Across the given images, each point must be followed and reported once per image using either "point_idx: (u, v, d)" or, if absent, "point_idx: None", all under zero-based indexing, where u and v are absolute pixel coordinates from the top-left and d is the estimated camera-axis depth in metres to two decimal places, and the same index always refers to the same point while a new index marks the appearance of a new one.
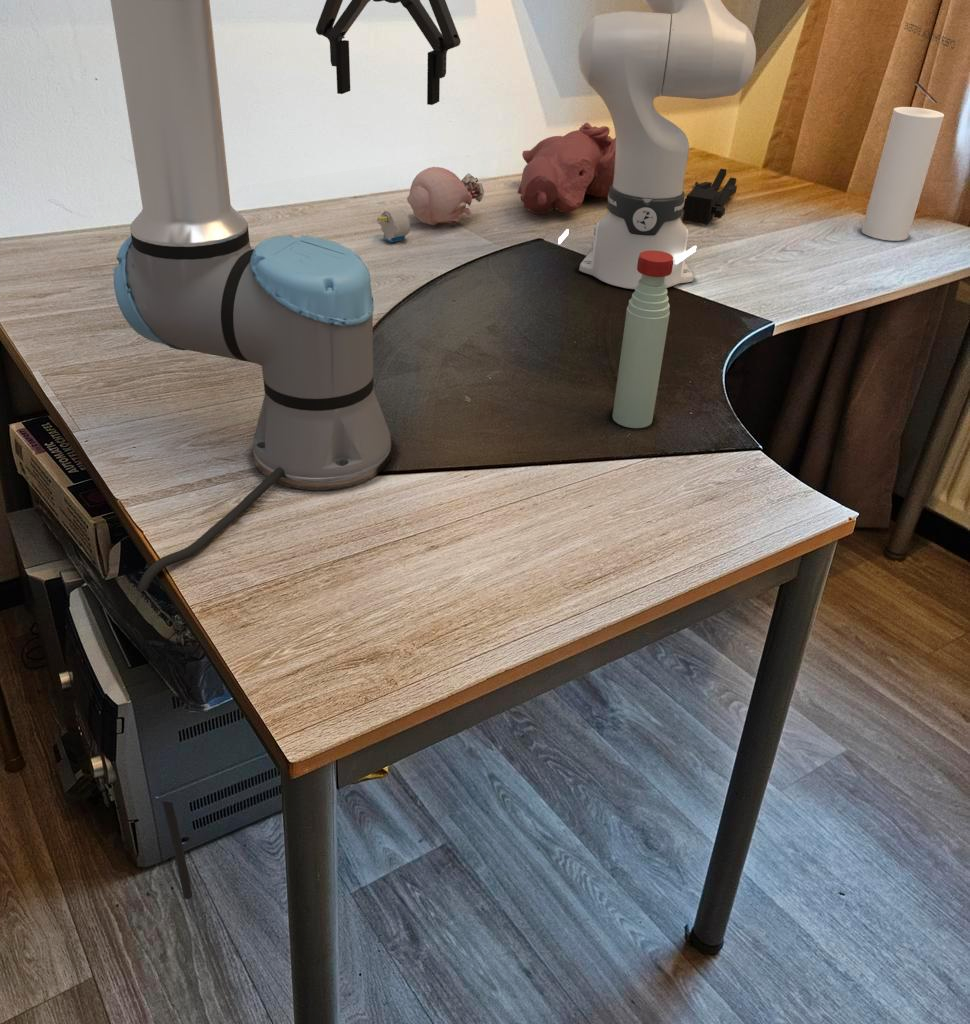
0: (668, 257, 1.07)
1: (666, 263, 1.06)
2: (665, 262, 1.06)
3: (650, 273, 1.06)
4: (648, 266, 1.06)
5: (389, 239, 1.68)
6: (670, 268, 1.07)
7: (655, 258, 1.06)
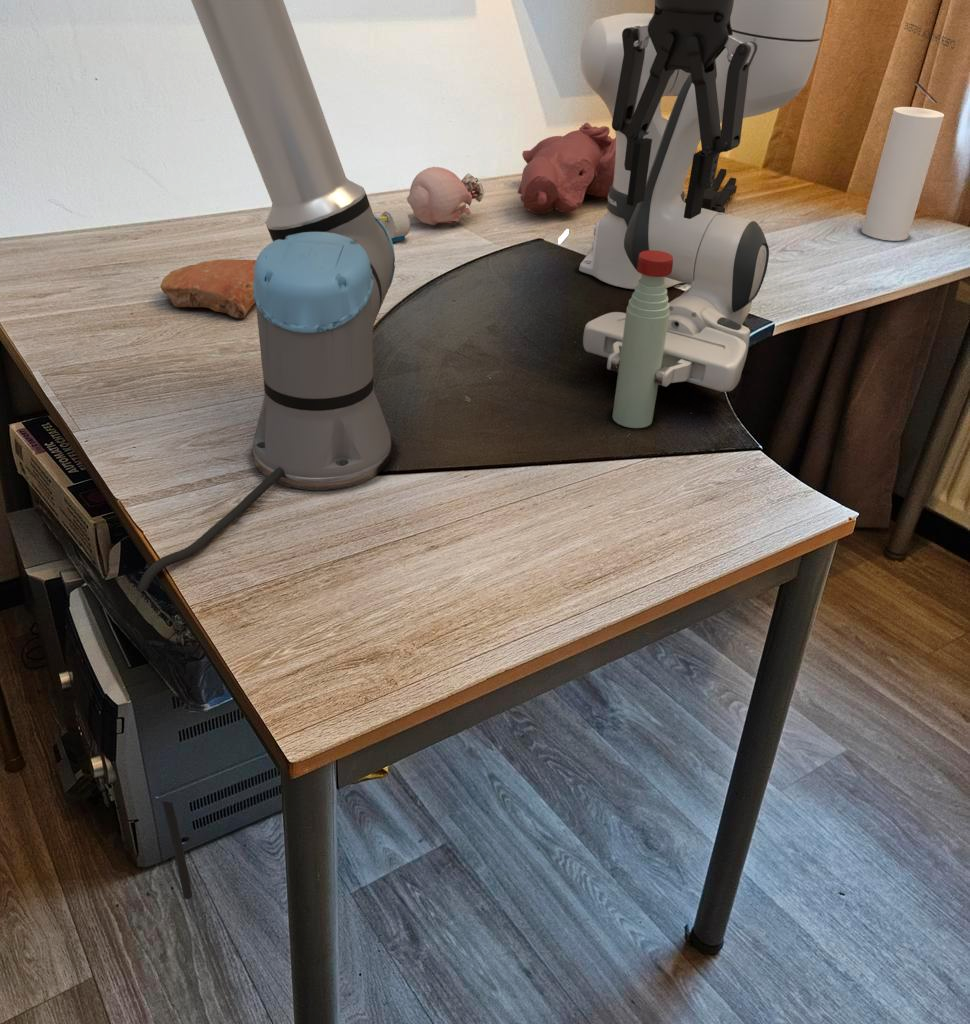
0: (668, 257, 1.07)
1: (666, 263, 1.06)
2: (665, 262, 1.06)
3: (650, 273, 1.06)
4: (648, 266, 1.06)
5: None
6: (670, 268, 1.07)
7: (655, 258, 1.06)
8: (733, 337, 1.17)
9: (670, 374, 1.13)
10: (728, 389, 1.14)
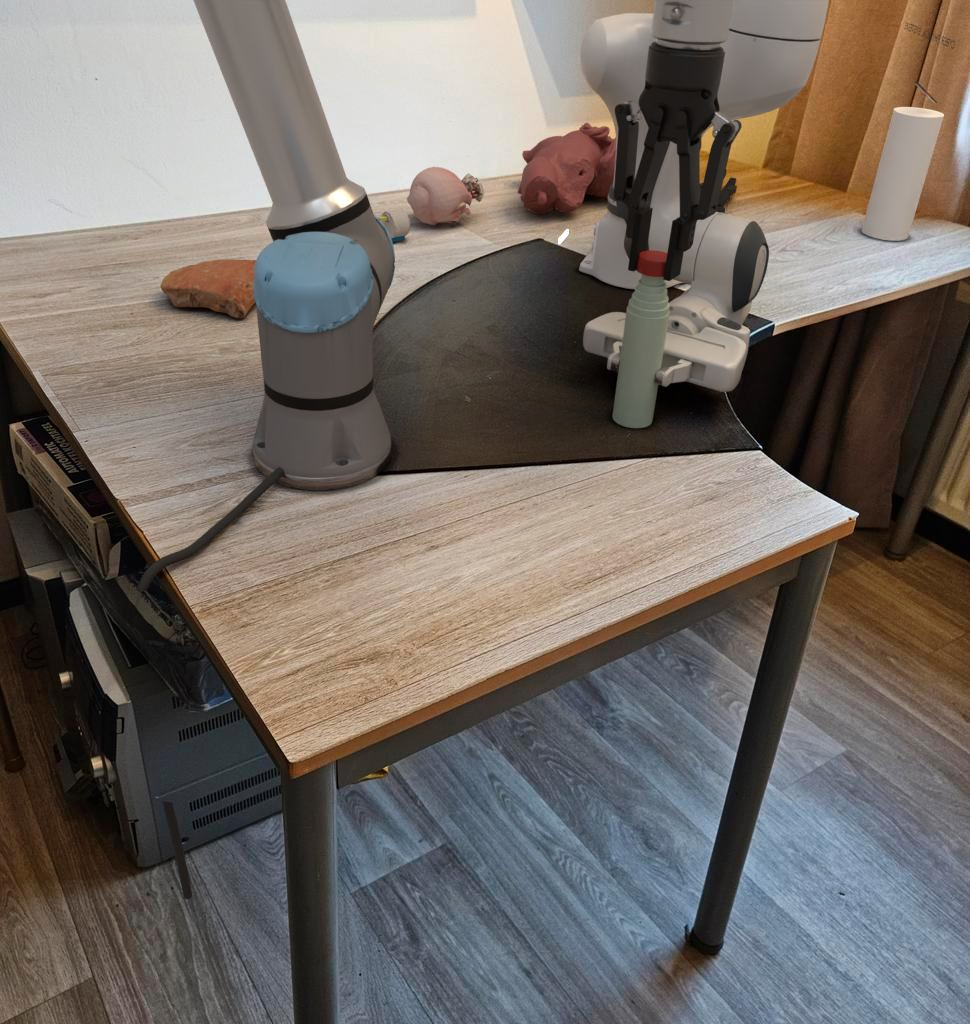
0: None
1: None
2: (665, 262, 1.06)
3: (650, 273, 1.06)
4: (648, 266, 1.06)
5: None
6: None
7: (655, 258, 1.06)
8: (733, 337, 1.17)
9: (670, 374, 1.13)
10: (728, 389, 1.14)
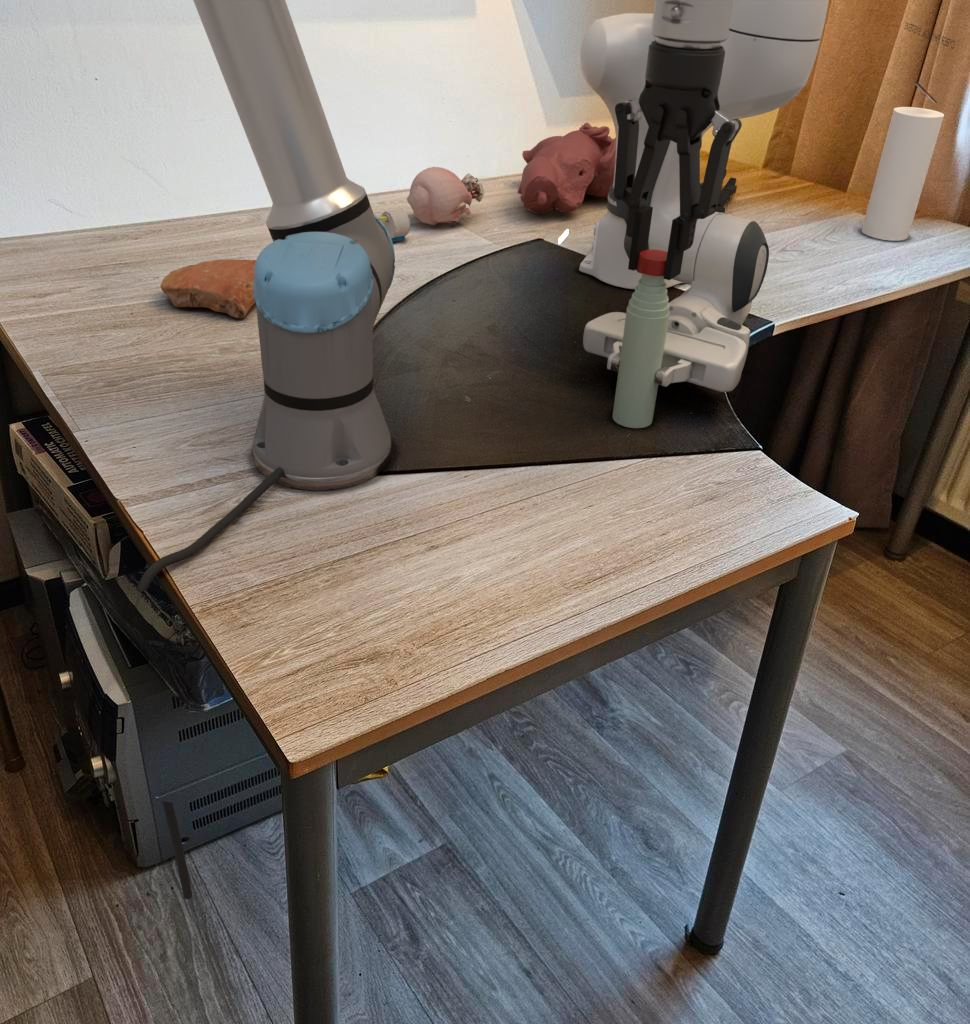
0: (655, 251, 1.08)
1: None
2: None
3: None
4: None
5: None
6: None
7: (664, 255, 1.07)
8: (733, 337, 1.17)
9: (670, 374, 1.13)
10: (728, 389, 1.14)
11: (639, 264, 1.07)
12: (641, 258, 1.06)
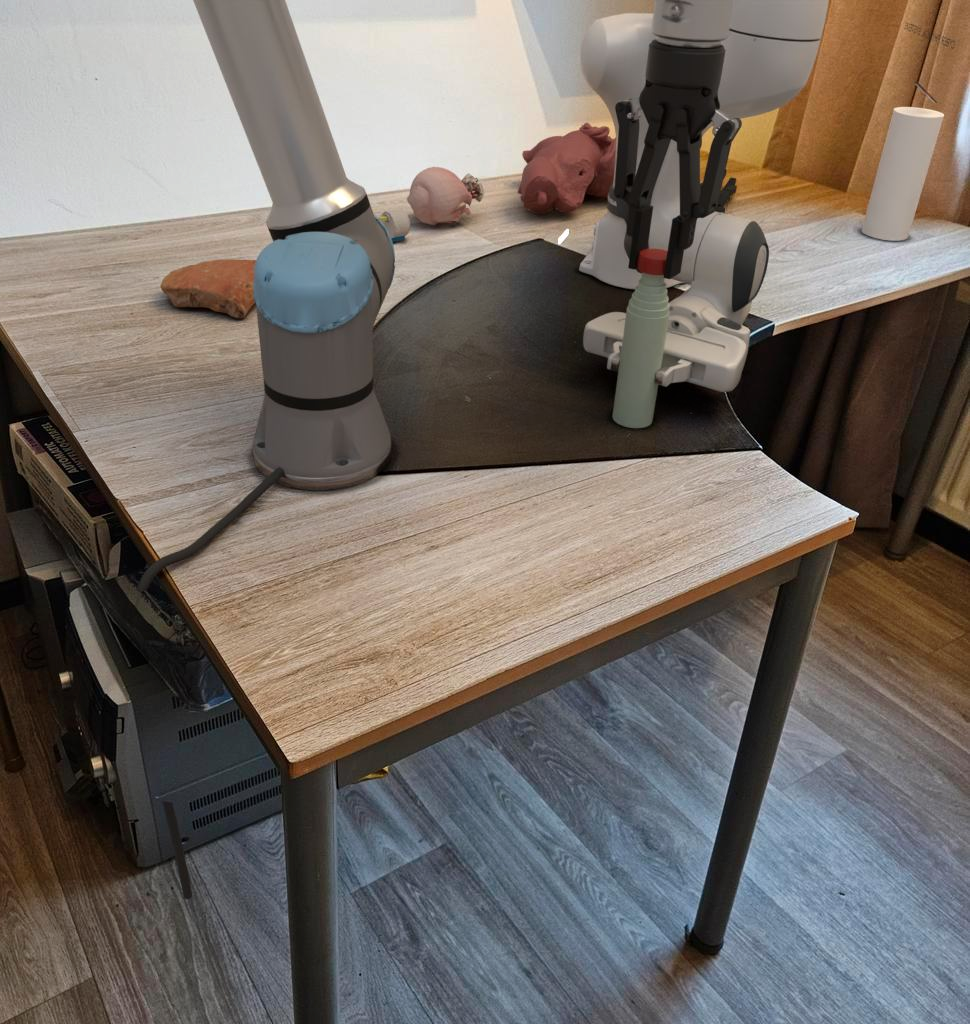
0: (645, 254, 1.07)
1: None
2: (642, 250, 1.08)
3: None
4: None
5: None
6: (638, 260, 1.08)
7: (654, 251, 1.07)
8: (733, 337, 1.17)
9: (670, 374, 1.13)
10: (728, 389, 1.14)
11: None
12: None
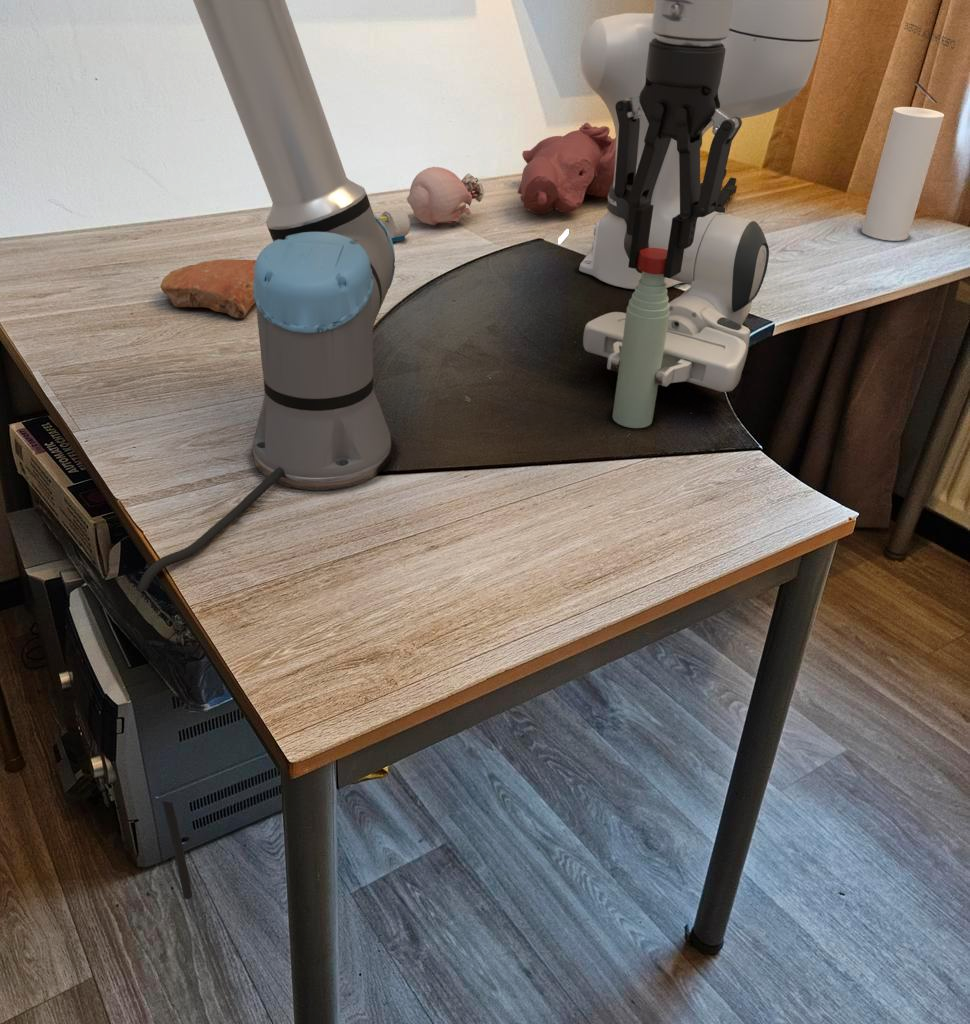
0: (662, 257, 1.06)
1: (651, 260, 1.05)
2: (649, 258, 1.05)
3: (638, 265, 1.07)
4: (639, 258, 1.07)
5: None
6: (657, 267, 1.06)
7: (650, 253, 1.06)
8: (733, 337, 1.17)
9: (670, 374, 1.13)
10: (728, 389, 1.14)
11: None
12: (666, 251, 1.08)
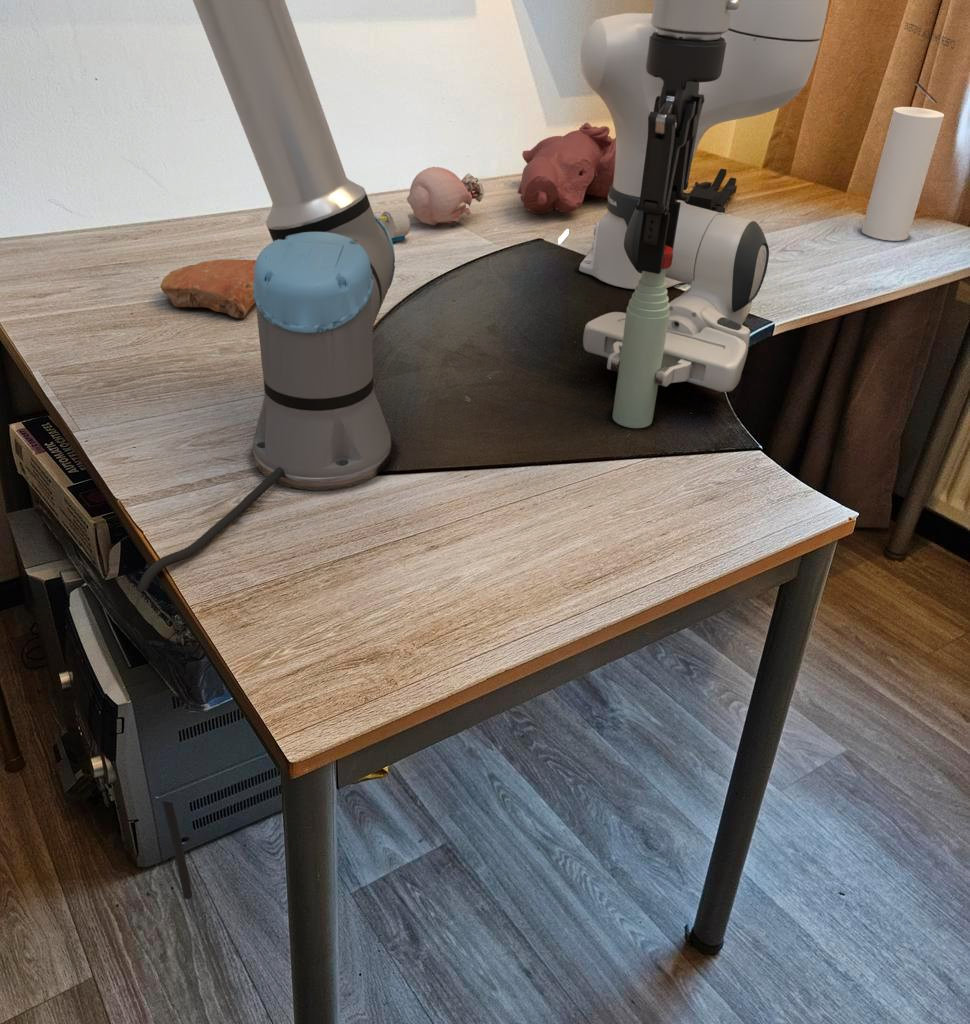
0: (665, 246, 1.07)
1: (672, 252, 1.06)
2: (672, 251, 1.06)
3: (663, 266, 1.06)
4: None
5: None
6: None
7: None
8: (733, 337, 1.17)
9: (670, 374, 1.13)
10: (728, 389, 1.14)
11: None
12: None
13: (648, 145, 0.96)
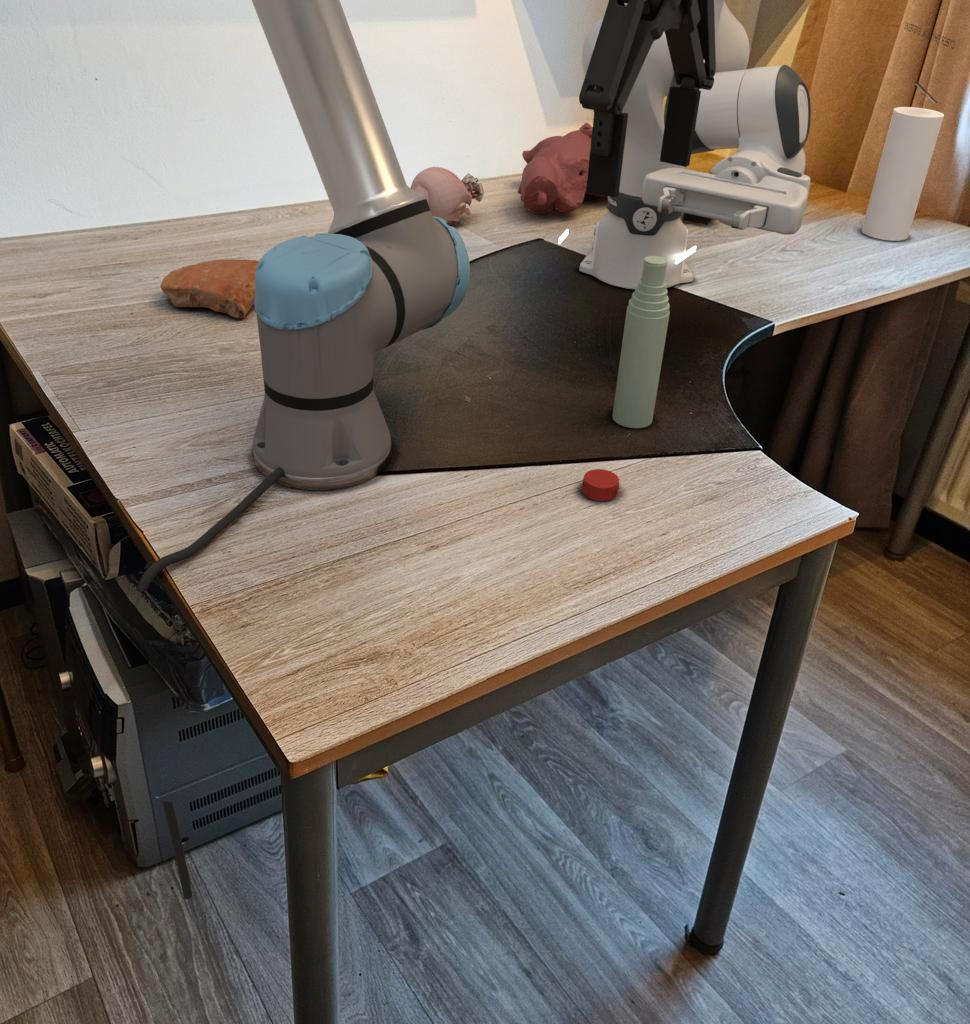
0: (612, 476, 1.04)
1: (617, 484, 1.03)
2: (617, 484, 1.03)
3: (605, 498, 1.02)
4: (602, 492, 1.02)
5: None
6: None
7: (604, 482, 1.03)
8: (794, 183, 1.18)
9: (747, 217, 1.13)
10: (791, 231, 1.15)
11: None
12: None
13: (607, 13, 0.73)
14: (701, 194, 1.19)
